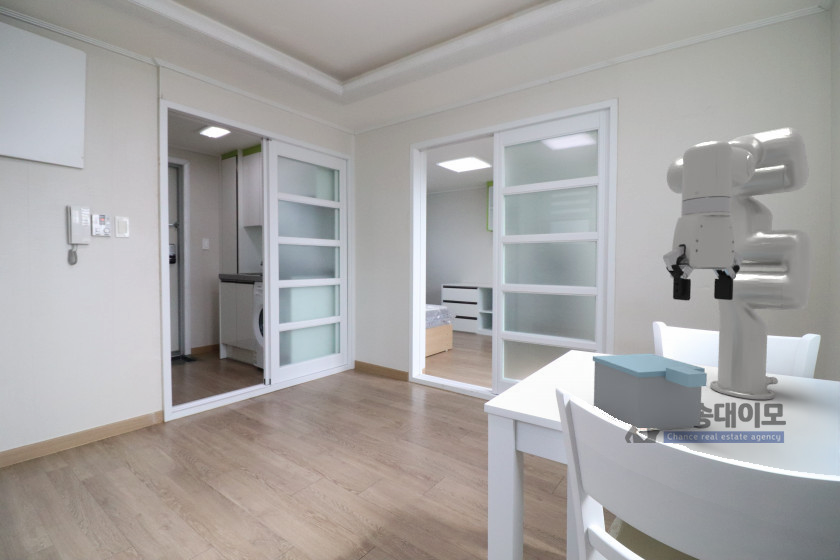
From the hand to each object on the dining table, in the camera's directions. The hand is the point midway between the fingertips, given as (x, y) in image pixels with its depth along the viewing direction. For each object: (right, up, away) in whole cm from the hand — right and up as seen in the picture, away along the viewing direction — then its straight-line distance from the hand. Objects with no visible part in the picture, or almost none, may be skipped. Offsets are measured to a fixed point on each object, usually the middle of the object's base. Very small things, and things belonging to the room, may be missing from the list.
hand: (702, 299), depth 73 cm
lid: (-5, -16, +6) cm, 18 cm away
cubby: (-6, -26, +9) cm, 28 cm away
